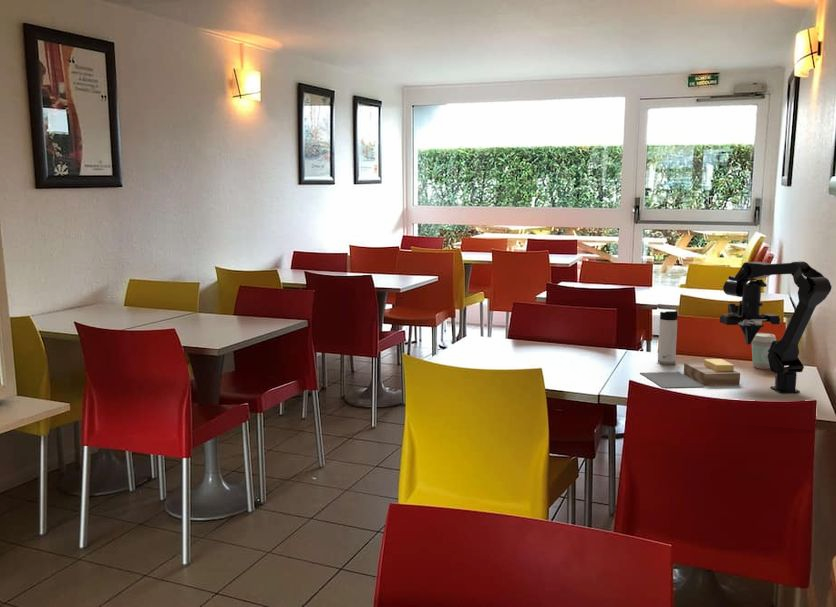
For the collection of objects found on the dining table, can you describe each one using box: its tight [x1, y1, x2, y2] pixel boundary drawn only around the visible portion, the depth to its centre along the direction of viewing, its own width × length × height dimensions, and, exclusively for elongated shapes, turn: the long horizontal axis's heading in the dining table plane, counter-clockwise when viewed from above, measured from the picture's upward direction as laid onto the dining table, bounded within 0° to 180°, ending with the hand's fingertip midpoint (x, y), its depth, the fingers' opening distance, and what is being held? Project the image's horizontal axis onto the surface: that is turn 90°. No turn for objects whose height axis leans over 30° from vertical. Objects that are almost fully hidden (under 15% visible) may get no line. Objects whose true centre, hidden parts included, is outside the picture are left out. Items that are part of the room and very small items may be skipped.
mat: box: [639, 371, 705, 389], centre depth 253 cm, size 20×14×1 cm
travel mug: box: [657, 310, 679, 366], centre depth 277 cm, size 6×7×20 cm
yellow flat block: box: [703, 358, 735, 371], centre depth 253 cm, size 9×6×2 cm, turn 5°
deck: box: [683, 362, 741, 387], centre depth 254 cm, size 16×12×4 cm
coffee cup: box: [751, 332, 777, 370], centre depth 271 cm, size 8×8×12 cm
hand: (748, 344), depth 253 cm, fingers closed
